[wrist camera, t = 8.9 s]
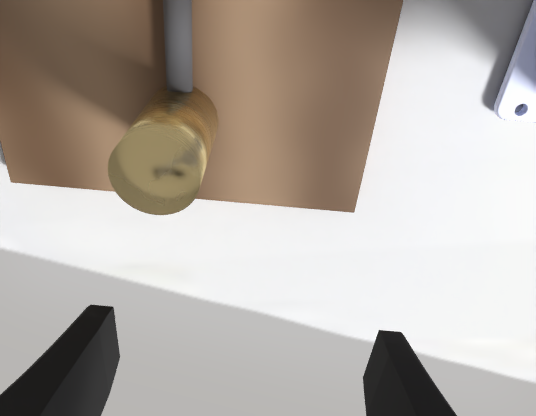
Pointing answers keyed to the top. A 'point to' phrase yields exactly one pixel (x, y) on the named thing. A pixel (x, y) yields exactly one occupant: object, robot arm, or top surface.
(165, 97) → the cream block with stem
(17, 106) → the walnut lane shelf
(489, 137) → the top surface
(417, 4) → the top surface
